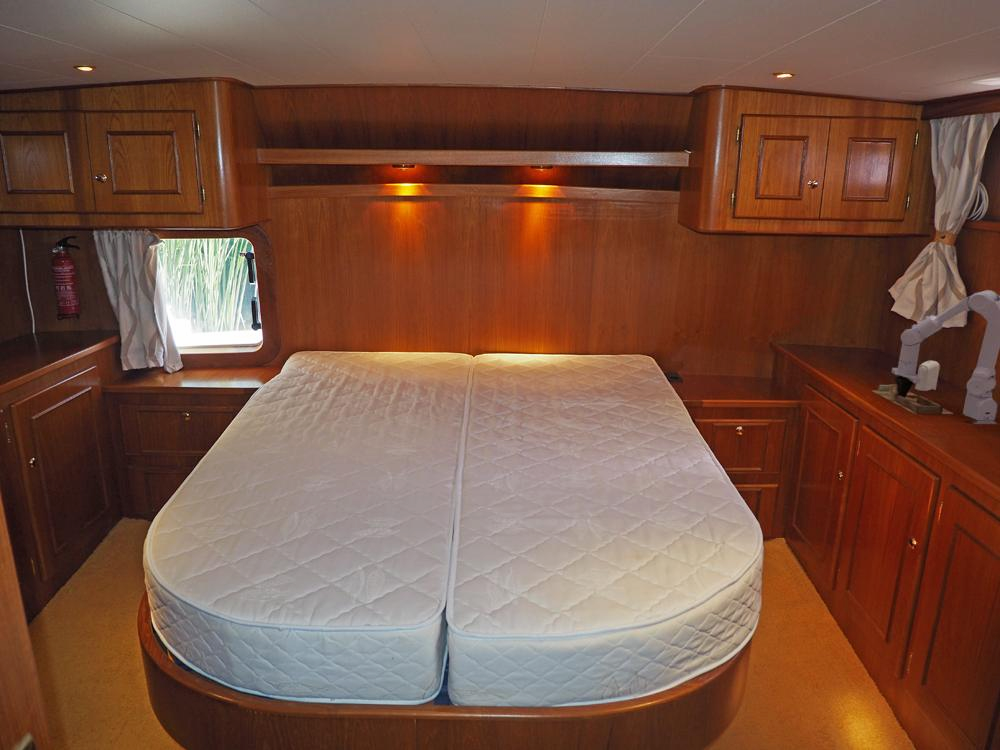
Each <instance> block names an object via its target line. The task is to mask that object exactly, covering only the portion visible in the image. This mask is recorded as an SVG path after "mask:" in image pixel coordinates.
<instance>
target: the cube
mask: <svg viewBox="0 0 1000 750" xmlns="http://www.w3.org/2000/svg"><path fill="white" fill-rule="evenodd" d="M889 385H890V387H889V393H888V395H890V396H892V397H894V398H897V396H898V388H897V384H895V383H894V384H893V383H892V384H889ZM904 398H905V397H904Z"/></svg>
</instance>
